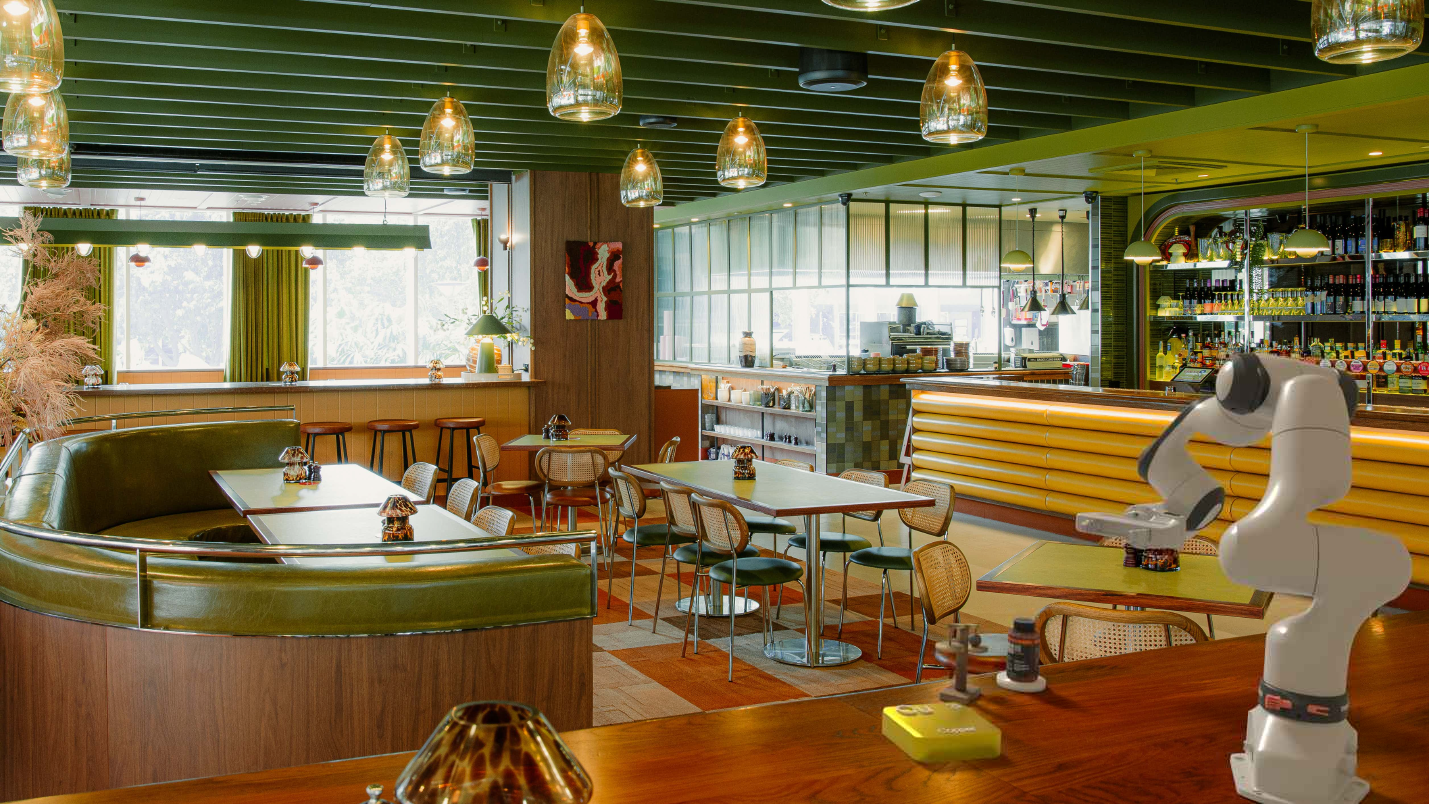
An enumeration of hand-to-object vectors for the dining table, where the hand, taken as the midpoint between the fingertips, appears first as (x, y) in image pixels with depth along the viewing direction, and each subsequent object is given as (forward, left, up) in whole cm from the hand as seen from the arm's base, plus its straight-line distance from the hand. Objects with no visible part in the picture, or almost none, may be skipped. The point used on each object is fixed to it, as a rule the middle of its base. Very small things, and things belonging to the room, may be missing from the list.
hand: (1105, 531), depth 209 cm
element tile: (-49, +13, -30) cm, 59 cm away
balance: (-25, +18, -29) cm, 43 cm away
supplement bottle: (-11, +11, -28) cm, 33 cm away
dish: (-11, +11, -29) cm, 33 cm away
